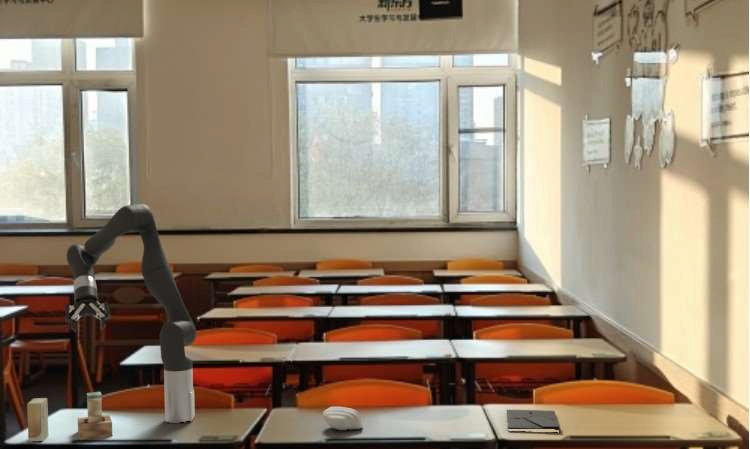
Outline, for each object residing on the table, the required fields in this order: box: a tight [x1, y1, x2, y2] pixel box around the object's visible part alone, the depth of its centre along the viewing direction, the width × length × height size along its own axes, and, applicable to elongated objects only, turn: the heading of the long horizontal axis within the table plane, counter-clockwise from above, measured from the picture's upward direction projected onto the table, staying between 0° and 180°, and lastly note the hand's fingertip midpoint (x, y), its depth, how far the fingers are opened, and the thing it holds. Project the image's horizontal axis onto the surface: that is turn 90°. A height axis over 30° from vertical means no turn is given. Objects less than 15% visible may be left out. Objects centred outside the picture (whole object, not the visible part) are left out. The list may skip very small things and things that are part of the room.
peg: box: [86, 391, 103, 423], centre depth 252 cm, size 4×4×12 cm
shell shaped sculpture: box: [322, 406, 363, 431], centre depth 253 cm, size 13×13×6 cm
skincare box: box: [26, 397, 50, 442], centre depth 246 cm, size 6×4×12 cm
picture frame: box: [506, 409, 561, 431], centre depth 257 cm, size 16×3×21 cm
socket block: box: [77, 414, 113, 441], centre depth 252 cm, size 10×10×4 cm
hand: (88, 329), depth 266 cm, fingers open, 8 cm apart
